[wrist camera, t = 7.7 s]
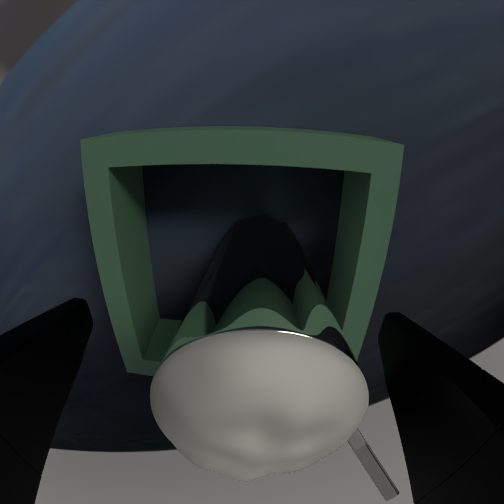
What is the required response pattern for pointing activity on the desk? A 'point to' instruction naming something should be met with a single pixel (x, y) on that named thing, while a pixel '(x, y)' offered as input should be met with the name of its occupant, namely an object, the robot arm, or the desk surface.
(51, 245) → the desk surface
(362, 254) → the green square frame
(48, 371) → the robot arm
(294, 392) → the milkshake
